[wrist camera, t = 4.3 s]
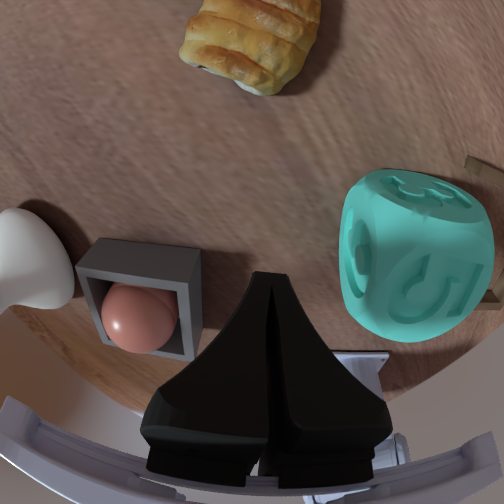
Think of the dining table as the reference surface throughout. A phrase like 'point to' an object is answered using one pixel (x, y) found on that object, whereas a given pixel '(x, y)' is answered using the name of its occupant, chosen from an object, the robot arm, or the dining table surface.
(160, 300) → the pop dome
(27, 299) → the flower in vase
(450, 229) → the decorative dice
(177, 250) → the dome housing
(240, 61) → the pastry
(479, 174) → the frame
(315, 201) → the dining table surface
